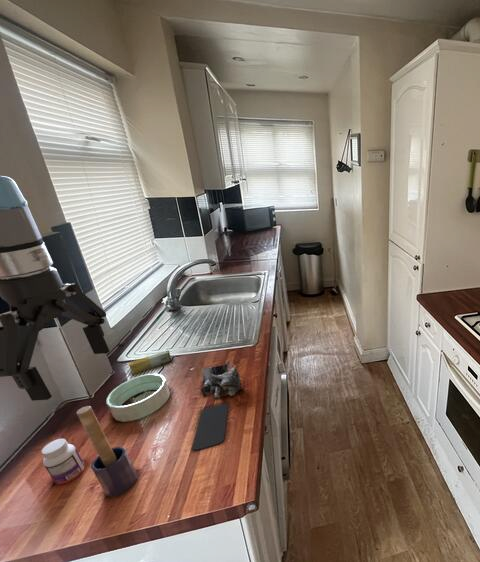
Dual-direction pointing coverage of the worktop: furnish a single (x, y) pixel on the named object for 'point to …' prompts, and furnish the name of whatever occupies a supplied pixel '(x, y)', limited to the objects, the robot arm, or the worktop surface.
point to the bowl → (135, 387)
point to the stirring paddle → (96, 435)
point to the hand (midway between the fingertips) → (75, 373)
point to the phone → (211, 427)
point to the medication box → (150, 362)
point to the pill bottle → (62, 461)
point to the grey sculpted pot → (221, 380)
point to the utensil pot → (115, 473)
